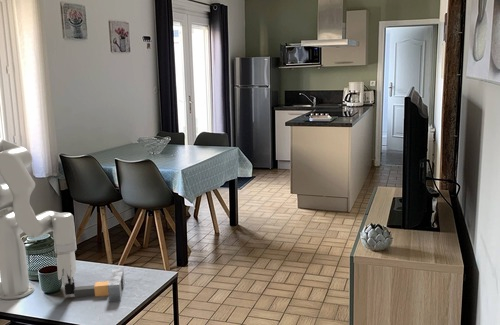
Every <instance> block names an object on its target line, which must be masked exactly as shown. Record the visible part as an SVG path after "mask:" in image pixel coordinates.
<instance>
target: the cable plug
mask: <svg viewBox="0 0 500 325" xmlns="http://www.w3.org/2000/svg"><path fill="white" fill-rule="evenodd" d="M108 284H109V280H106V281H95V283H94V284H93V285H92V284H91V285H82V286H75V289H74V294H73V297H74V299H75V298H86V297H105V296H106V297H107V296H109V293H108Z"/></svg>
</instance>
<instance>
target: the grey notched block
mask: <svg viewBox="0 0 500 325" xmlns="http://www.w3.org/2000/svg"><path fill="white" fill-rule="evenodd" d="M124 270H125V268H124V267H116V268H115V267H113V268H112V270H111V273H110V277H109V280H108V281H109V284H108V293H109V295H108V302H109V303H117V302H121V301H122V297H123V292H122V291H123V289H124V287H125V272H124Z"/></svg>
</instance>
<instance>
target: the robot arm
mask: <svg viewBox="0 0 500 325" xmlns="http://www.w3.org/2000/svg"><path fill="white" fill-rule="evenodd" d="M32 162H33V156H32V154H31V152H30V151H29V150H28V149H27V148H25V147H23V146H21V145H19V144H16V143H14V142H12V141H8V140H6V139H4V138H0V176H1V177H2V179H3V181H4V182H3V183H0V212H1V211H5V210H7V212H4V213H2V214H0V300H8V301H9V300H16V299H21V298H23V297H27V296H29V295H30V294H32V293H34V291H35V286H34V284H32V283H30V280H29V270H28V261H27V253H26V246H25V243H24V241H23V239H22V237H21V234H22V233H24V234H25V235H26V236H27V237H29V238H31V239H38V238H41V237H42V236H44V235H46V234H48V233H51V232H52V236H53V246H54V253H55V254H56V266H57V270H56V271H57V279H58V280H59V281H61V280H62V278H63V284H64V285H63V286H64V294H65V295H74V289H75V287H76V286H75V285H76V284H75V277H74V276H75V273H76V271H77V261H76V254H75V253H76V251H77V249H78V248H77V238H76V228H75V218H74V215H73V214H72V213H71V212H58V211H55V210H45V211H43V212H41V213H38V214H35V211H34V209H33V207H32V206H31V203H30V201H31V200H30V199H31V194H32V193H33V191H34V190H35V188H36V182H35V180H34V179H33V177H32V176H31V174H30V173H29V171H28V168H29V167H30V166H31V165H32Z"/></svg>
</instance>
